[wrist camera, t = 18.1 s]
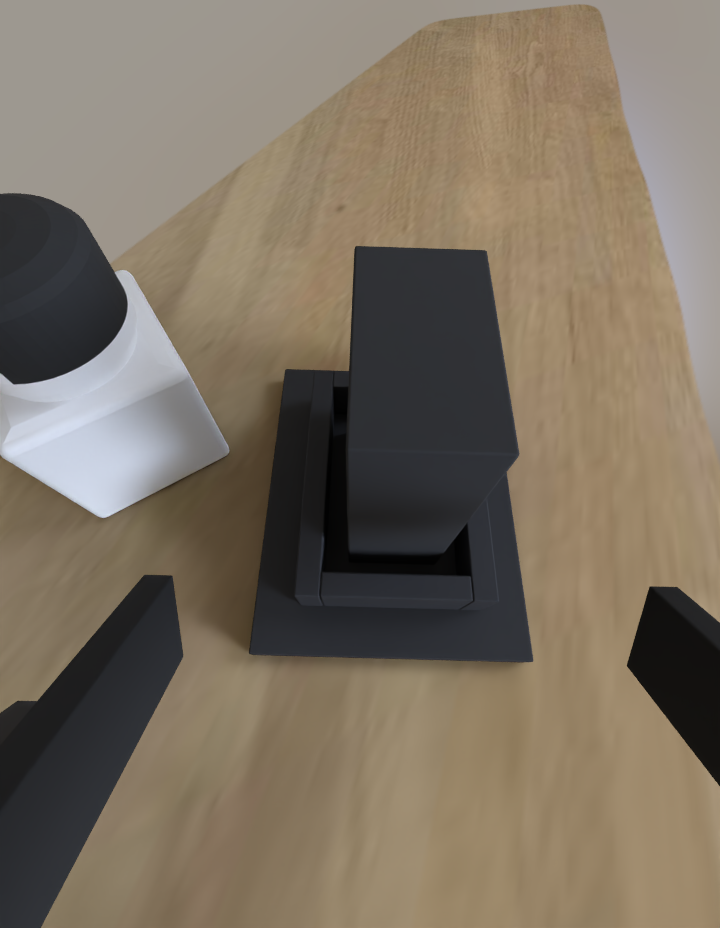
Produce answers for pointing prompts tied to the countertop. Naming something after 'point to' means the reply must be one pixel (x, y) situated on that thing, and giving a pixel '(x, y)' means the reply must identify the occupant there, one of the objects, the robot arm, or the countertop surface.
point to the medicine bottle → (89, 369)
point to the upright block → (422, 401)
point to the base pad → (373, 584)
